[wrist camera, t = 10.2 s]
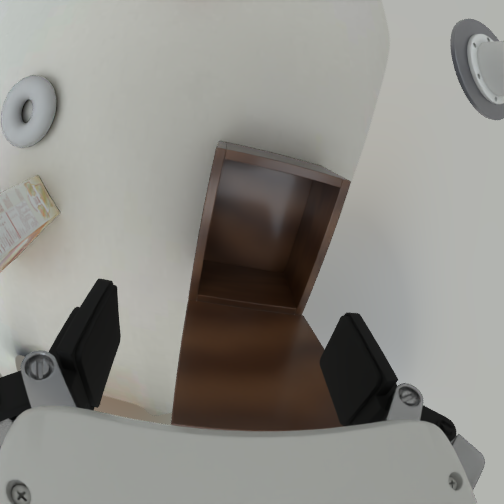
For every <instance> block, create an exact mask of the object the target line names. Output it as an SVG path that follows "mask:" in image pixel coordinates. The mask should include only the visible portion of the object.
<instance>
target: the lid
mask: <svg viewBox="0 0 504 504" xmlns="http://www.w3.org/2000/svg"><path fill="white" fill-rule="evenodd" d="M323 352H324V348H323V347H322V345H321V343H320V342H319V340H318V339H317V337H316V335H315V334H314V332H313V330H312V329H311V327H310V326H309V324H308V323H307V321H306V319H305V318H304V316H303V315H294V314H285V313H277V312H269V311H261V310H254V309H247V308H240V307H233V306H226V305H219V304H213V303H207V302H201V301H195V300H188V304H187V310H186V316H185V322H184V328H183V335H182V341H181V348H180V355H179V362H178V369H177V377H176V385H175V393H174V402H173V410H172V421H171V425H174V426H182V427H190V428H200V429H212V430H227V431H299V430H315V429H327V428H336V427H344V426H343V425H341V424H340V422H339V419H338V416H337V413H336V410H335V407H334V404H333V402H332V399H331V396H330V393H329V390H328V387H327V384H326V382H325V379H324V376H323V373H322V370H321V368H320V363H319V362H320V358H321V356H322V354H323Z"/></svg>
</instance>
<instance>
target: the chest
mask: <svg viewBox="0 0 504 504" xmlns="http://www.w3.org/2000/svg"><path fill="white" fill-rule="evenodd" d="M350 183H351V182H350V181H349V180H347V179H345V178H343V177H341V176H340V175H338V174H336V173H334V172H332V171H330V170H328V169H326V168H324V167H322V166H320V165H316V164H313V163H309V162H306V161H302V160H299V159H295V158H291V157H288V156H284V155H280V154H276V153H272V152H268V151H264V150H259V149H255V148H251V147H246V146H242V145H237V144H232V143H227V142H222V141H219V142H218V144H217V147H216V151H215V156H214V160H213V165H212V169H211V174H210V179H209V184H208V189H207V193H206V198H205V204H204V209H203V214H202V219H201V225H200V230H199V236H198V241H197V247H196V253H195V259H194V265H193V271H192V278H191V284H190V291H189V298H188V299H189V300H195V301H201V302H207V303H213V304H219V305H226V306H233V307H240V308H247V309H254V310H261V311H269V312H277V313H285V314H295V315H302V313H303V311H304V308H305V305H306V303H307V301H308V298H309V296H310V293H311V291H312V289H313V286H314V283H315V281H316V278H317V276H318V273H319V271H320V268H321V265H322V263H323V260H324V258H325V255H326V252H327V250H328V247H329V244H330V241H331V239H332V236H333V233H334V230H335V227H336V225H337V222H338V219H339V216H340V213H341V210H342V207H343V204H344V201H345V198H346V195H347V192H348V189H349V186H350Z"/></svg>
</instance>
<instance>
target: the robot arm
mask: <svg viewBox="0 0 504 504" xmlns="http://www.w3.org/2000/svg"><path fill="white" fill-rule="evenodd" d="M467 58H468V63H469V67H470V71H471V74H472V77H473V79H474V81H475V83H476V85H477V87H478V89H479V90H480V92H481V93H482V95H483V96H484V97H485V98H486V99H487V100H488V101H490V102H491V103H494V104H503V103H504V41H495V42H494V41H493V40H492V39H491V38H489V37H488V36H486V35H484V34H475V35H473V36H471V37H470V39H469V41H468V45H467ZM119 343H120V325H119V313H118V297H117V286H115V285H113V282H112V281H109V280H104V279H98V280H97V281H96V283H95V284H94V286H93V288H92V289H91V291H90V292H89V294H88V295H87V297H86V299H85V300H84V302H83V303H82V305H81V307H76V308H74V310H73V311H72V313H71V314H70V316H69V318H68V319H67V321H66V323H65V324H64V326H63V328H62V329H61V331H60V333H59V334H58V336H57V338H56V340H55V341H54V343H53V345H52V347H51V349H50V350H49V352H46V351H34V352H32V353H29V354H28V355H27V356H26V357H25V358H24V359H23V361H22V363H21V371H18V372H15V373H13V374H10V375H7V376H4V377H1V378H0V504H477V501H476V498H475V495H474V493H473V489H474V487H475V485H476V483H477V481H478V479H479V477H480V475H481V472H482V470H483V468H484V464H485V460H484V457H483V455H482V454H481V453H480V452H479V451H478V450H477V449H476V448H475V447H473V446H472V445H471V444H470V443H468V441H466V440H465V439H464V438H463V437H462V436H461V435H460V434H458V435H457V436H456V429H455V426H454V424H453V422H452V421H451V420H449V419H448V418H446V417H444V416H442V415H440V414H438V413H437V412H435V411H433V410H431V409H429V408H427V407H425V406H423V396H422V394H421V392H420V391H419V390H418V389H417V388H416V387H414V386H412V385H410V384H406V383H403V384H400V385H398V386H397V385H396V382H397V381H398V379H397V377H396V375H395V373H394V371H393V370H392V368H391V366H390V364H389V363H388V361H387V359H386V357H385V356H384V354H383V352H382V351H381V349H380V347H379V345H378V344H377V342H376V340H375V339H374V337H373V335H372V334H371V332H370V330H369V329H368V327H367V325H366V324H365V322H364V321H363V319H362V317H361V316H360V314H358V313H346V314H345V315H344V316H342V317H341V318H340V320H339V322H338V324H337V326H336V328H335V330H334V332H333V334H332V336H331V338H330V340H329V342H328V344H327V346H326V348H325V350H324V352H323V354H322V356H321V358H320V362H319V363H320V368H321V370H322V373H323V376H324V379H325V382H326V384H327V387H328V390H329V393H330V396H331V399H332V402H333V404H334V407H335V410H336V413H337V416H338V419H339V422H340V424H341V425H343V426H344V427H336V428H327V429H315V430H299V431H227V430H212V429H200V428H190V427H182V426H174V425H166V424H160V423H154V422H148V421H142V420H136V419H131V418H126V417H121V416H117V415H112V414H108V413H103V412H98V411H93V410H94V407H99V405H100V401H101V398H102V395H103V391H104V388H105V385H106V382H107V379H108V376H109V373H110V370H111V367H112V364H113V361H114V358H115V355H116V352H117V349H118V346H119Z"/></svg>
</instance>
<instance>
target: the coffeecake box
mask: <svg viewBox="0 0 504 504" xmlns="http://www.w3.org/2000/svg"><path fill="white" fill-rule="evenodd" d="M59 214H60V212H59V210H58V208H57V207H56V205H55V203H54V202H53V200H52V199H51V198H50V196H49V194H48V193H47V191H46V189H45V187H44V185H43V183H42V181H41V180H40V178H39V176H38V175H37V176H35V177H33V178H31V179H28V180H26V181H24V182H22V183H20V184H18V185H15V186H13V187H11V188H9V189H7V190H5V191H3V192H1V193H0V272H1V271H2V270H3V269H4V268H5V267H6V266H7V265H9V264H10V263H11V262H12V261H13V260H15V259H16V258H17V256H18V255H19V254H20V253H21V252H22V251H23V250H24V249H25V248H26V247H27V246H28V245H29V244H30V243H31V242H32V241H33V240H34V239H35V238H36V237H37V236H38V234H39V233H40V232H41V231H42V230H43V229H44V228H45V227H46V226H47V225H48V224H50V223H51V222H52V221H53V220H54V219H55V218H56V217H57V216H58V215H59Z"/></svg>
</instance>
